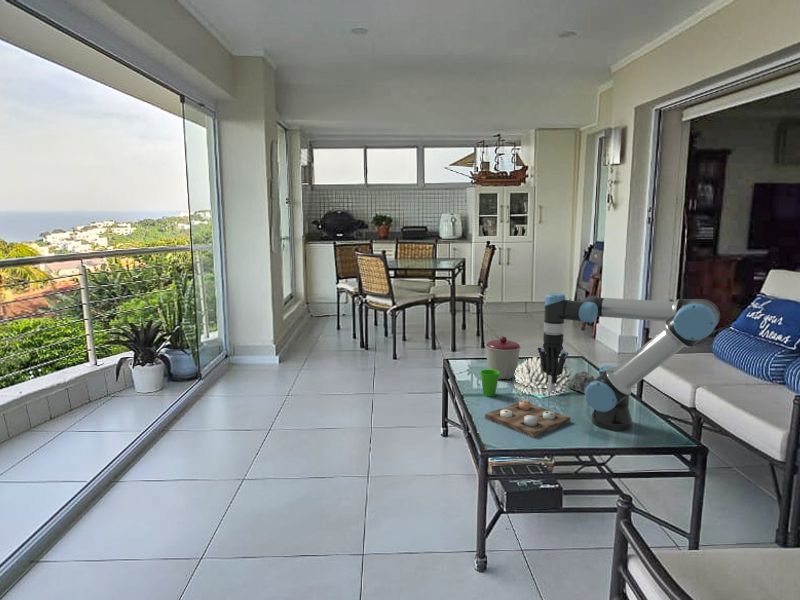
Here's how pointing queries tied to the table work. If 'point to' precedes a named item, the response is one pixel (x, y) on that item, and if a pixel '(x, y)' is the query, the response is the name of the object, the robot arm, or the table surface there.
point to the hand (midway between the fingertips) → (551, 390)
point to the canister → (503, 356)
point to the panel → (518, 419)
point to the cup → (489, 381)
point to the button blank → (530, 421)
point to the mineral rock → (580, 381)
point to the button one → (506, 413)
